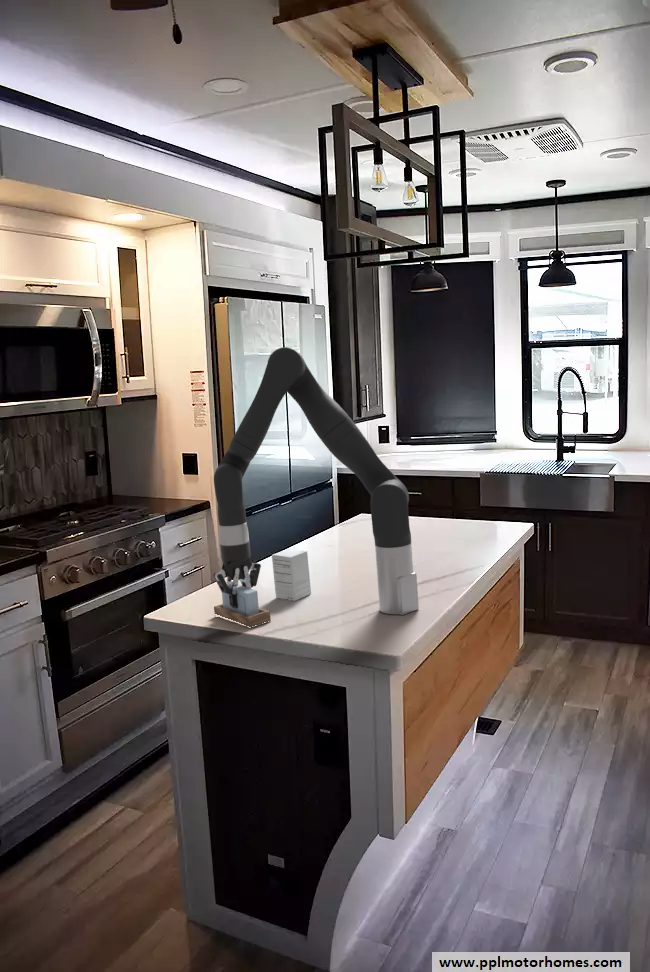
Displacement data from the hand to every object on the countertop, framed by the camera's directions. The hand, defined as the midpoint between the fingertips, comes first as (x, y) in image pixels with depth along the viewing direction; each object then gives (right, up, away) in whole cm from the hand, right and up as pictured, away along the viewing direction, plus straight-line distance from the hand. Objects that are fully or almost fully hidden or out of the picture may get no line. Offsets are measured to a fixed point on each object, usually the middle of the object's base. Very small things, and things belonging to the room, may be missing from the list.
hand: (241, 605), depth 208 cm
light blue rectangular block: (0, -2, +1) cm, 2 cm away
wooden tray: (0, -4, 0) cm, 4 cm away
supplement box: (+13, 0, +18) cm, 22 cm away
